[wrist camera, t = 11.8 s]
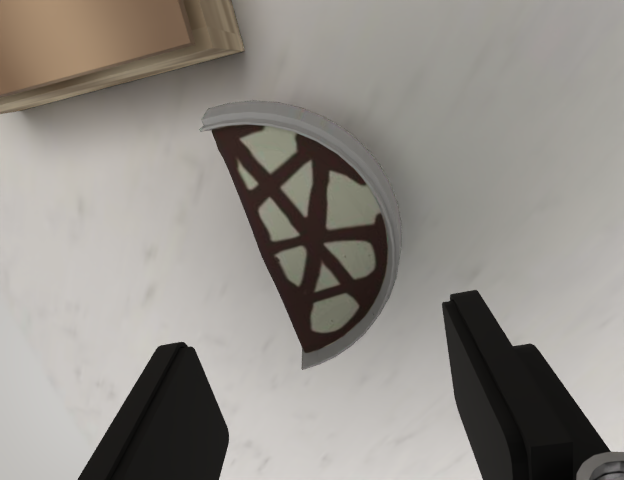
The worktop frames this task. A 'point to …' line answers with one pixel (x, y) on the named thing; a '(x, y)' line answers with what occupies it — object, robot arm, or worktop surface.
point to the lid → (83, 37)
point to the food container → (313, 218)
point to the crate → (209, 45)
